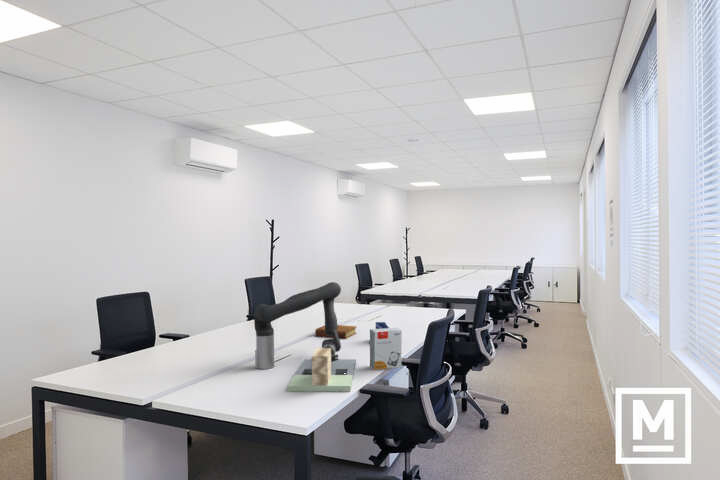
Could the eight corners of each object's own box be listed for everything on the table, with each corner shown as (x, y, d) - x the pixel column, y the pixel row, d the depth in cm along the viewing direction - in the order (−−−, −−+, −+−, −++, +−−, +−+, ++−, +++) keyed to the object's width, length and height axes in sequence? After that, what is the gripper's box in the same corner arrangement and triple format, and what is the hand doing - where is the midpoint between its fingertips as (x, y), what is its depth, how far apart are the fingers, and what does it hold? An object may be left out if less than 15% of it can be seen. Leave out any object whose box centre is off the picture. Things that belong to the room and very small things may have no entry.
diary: (315, 337, 317) (315, 329, 317) (327, 332, 334) (327, 324, 334) (345, 339, 308) (345, 331, 308) (356, 334, 325) (356, 326, 325)
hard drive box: (373, 370, 236) (373, 331, 235) (369, 366, 243) (369, 329, 243) (402, 367, 240) (401, 329, 240) (397, 364, 247) (396, 327, 247)
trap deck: (288, 391, 206) (288, 385, 206) (304, 363, 250) (304, 359, 249) (350, 391, 204) (350, 386, 204) (356, 363, 248) (356, 359, 248)
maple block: (312, 385, 206) (311, 356, 206) (316, 374, 221) (316, 348, 221) (327, 385, 206) (327, 356, 206) (331, 374, 221) (330, 348, 221)
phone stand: (394, 344, 292) (394, 325, 292) (376, 344, 292) (375, 325, 292) (393, 339, 304) (393, 321, 304) (375, 340, 304) (375, 322, 304)
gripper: (315, 345, 238) (309, 354, 221) (340, 345, 238) (337, 354, 221) (315, 360, 239) (310, 369, 221) (340, 360, 238) (337, 369, 221)
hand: (323, 362), depth 221 cm, fingers closed
